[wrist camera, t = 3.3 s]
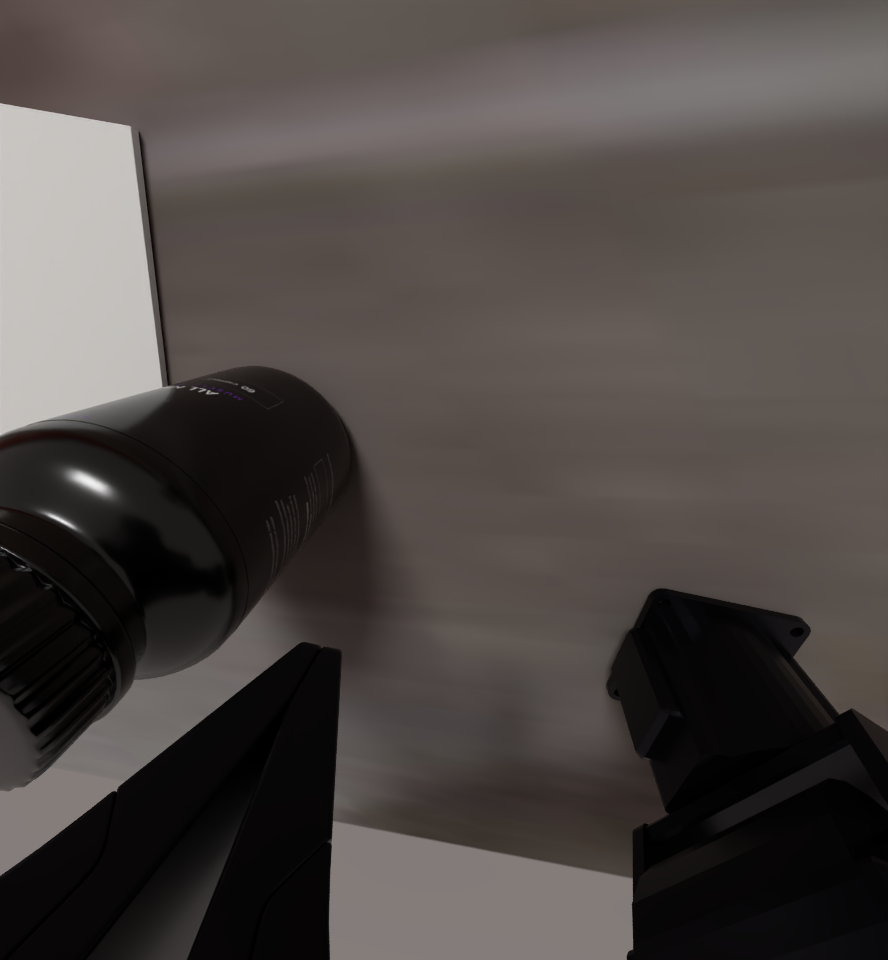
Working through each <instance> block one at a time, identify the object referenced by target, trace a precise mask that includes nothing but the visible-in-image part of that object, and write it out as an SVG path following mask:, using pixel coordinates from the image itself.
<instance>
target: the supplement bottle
mask: <svg viewBox="0 0 888 960" xmlns="http://www.w3.org/2000/svg"><path fill="white" fill-rule="evenodd" d="M350 470H351V451H350V445H349V441H348V437H347V434H346V432H345V429H344V427H343V425H342V423H341V421H340V419H339V417H338V415H337V414H336V412H335V411H334V409H333V408H332V407H331V405H330V404H329V403H328V402H327V401H326V400H325V398H324V397H323V396H322V395H321V394H320V393H318V392H317V391H316V390H315V389H314V388H313V387H311V386H310V385H308V384H307V383H306V382H304V381H302V380H301V379H299V378H297V377H295V376H293V375H291V374H289V373H286V372H284V371H281V370H277V369H273V368H268V367H262V366H246V367H238V368H233V369H229V370H225V371H221V372H217V373H213V374H210V375H206V376H202V377H199V378H195V379H191V380H188V381H184V382H181V383H177V384H173V385H170V386H166V387H162V388H159V389H155V390H152V391H148V392H144V393H141V394H137V395H133V396H130V397H126V398H123V399H119V400H115V401H112V402H108V403H104V404H101V405H97V406H94V407H90V408H86V409H83V410H79V411H76V412H72V413H68V414H65V415H61V416H57V417H54V418H50V419H47V420H43V421H39V422H36V423H32V424H29V425H27V426H24V427H20V428H17V429H14V430H11V431H9V432H6V433H4V434H2V435H0V790H2V791H11V790H12V789H13V788H16V787H25V786H26V785H28V784H29V783H30V782H32V781H33V780H34V779H36V778H37V777H39V776H40V775H41V774H43V773H44V772H45V771H46V770H47V769H48V768H49V767H50V766H51V765H52V764H53V763H54V762H55V761H56V760H57V759H58V758H59V757H60V756H61V755H62V754H63V753H64V752H65V751H66V750H67V749H68V748H69V747H70V746H71V745H72V744H73V743H74V742H75V741H76V740H77V739H78V738H79V737H80V735H81V734H82V733H83V732H84V731H85V730H86V729H87V728H88V727H89V726H90V725H91V724H92V723H94V722H96V721H98V720H100V719H102V718H103V717H104V716H106V715H107V714H108V713H109V712H110V711H111V710H112V709H113V708H114V707H115V706H116V704H117V703H118V702H119V701H120V700H121V699H122V698H123V697H124V695H125V694H126V693H127V692H128V690H129V689H130V687H131V685H132V683H133V681H134V680H142V679H151V678H157V677H162V676H166V675H169V674H173V673H176V672H179V671H181V670H184V669H186V668H188V667H191V666H193V665H195V664H197V663H198V662H200V661H202V660H204V659H205V658H207V657H208V656H210V655H211V654H212V653H214V652H215V651H216V650H217V649H219V648H220V646H221V645H222V644H223V643H224V642H225V641H226V640H227V639H228V638H229V637H230V636H231V635H232V634H233V632H234V631H235V630H236V629H237V628H238V627H239V625H240V624H241V623H242V622H243V620H244V619H245V618H246V617H247V615H248V614H249V613H250V612H251V610H252V609H253V608H254V607H255V605H256V604H257V603H258V602H259V601H260V599H261V598H262V597H263V596H264V594H265V593H266V592H267V591H268V589H269V588H270V587H271V586H272V584H273V583H274V582H275V581H276V579H277V578H278V577H279V576H280V574H281V573H282V572H283V571H284V569H285V568H286V567H287V566H288V564H289V563H290V562H291V561H292V559H293V558H294V557H295V556H296V554H297V553H298V552H299V551H300V549H301V548H302V547H303V546H304V545H305V543H306V542H307V541H308V540H309V538H310V537H311V536H312V535H313V533H314V532H315V531H316V530H317V528H318V527H319V526H320V525H321V523H322V522H323V521H324V520H325V518H326V517H327V516H328V515H329V513H330V512H331V511H332V509H333V508H334V507H335V505H336V504H337V503H338V501H339V500H340V498H341V497H342V495H343V493H344V491H345V489H346V486H347V484H348V480H349V477H350Z"/></svg>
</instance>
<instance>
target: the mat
mask: <svg viewBox="0 0 888 960" xmlns="http://www.w3.org/2000/svg"><path fill="white" fill-rule="evenodd" d="M166 386H168V382H167V373H166V365H165V356H164V348H163V339H162V331H161V322H160V313H159V305H158V296H157V288H156V279H155V271H154V262H153V254H152V245H151V236H150V228H149V219H148V211H147V202H146V194H145V185H144V176H143V168H142V159H141V151H140V142H139V134H138V129H135V128H133V127H131V126H126V125H120V124H114V123H109V122H103V121H97V120H92V119H86V118H80V117H74V116H69V115H63V114H57V113H52V112H46V111H40V110H34V109H29V108H23V107H17V106H11V105H6V104H0V435H2V434H4V433H6V432H9V431H11V430H14V429H17V428H20V427H24V426H27V425H29V424H32V423H36V422H39V421H43V420H47V419H50V418H54V417H57V416H61V415H65V414H68V413H72V412H76V411H79V410H83V409H86V408H90V407H94V406H97V405H101V404H104V403H108V402H112V401H115V400H119V399H123V398H126V397H130V396H133V395H137V394H141V393H144V392H148V391H152V390H155V389H159V388H162V387H166Z"/></svg>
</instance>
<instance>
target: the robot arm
mask: <svg viewBox="0 0 888 960" xmlns="http://www.w3.org/2000/svg"><path fill="white" fill-rule="evenodd" d="M663 599H667V600H666V601H664V602H659V601H660V600H663ZM794 628H795V629H794ZM810 632H811V630H810V627H809V626H808V625H807V624H806V623H805V622H804V621H803V619H802V618H800V617H797V616H793V615H788V614H783V613H779V612H774V611H769V610H764V609H760V608H755V607H750V606H745V605H741V604H736V603H731V602H726V601H722V600H717V599H712V598H707V597H703V596H698V595H693V594H688V593H684V592H679V591H674V590H669V589H661V588H660V589H656V590H654V591H653V592H652V593H651V594H650V595H649V597H648V599H647V601H646V603H645V605H644V607H643V609H642V612H641V614H640V616H639V618H638V620H637V622H636V624H635V626H634V627H633V628H632V629H631V630H630V631H629V632H628V634H627V636H626V638H625V641H624V643H623V645H622V647H621V649H620V651H619V653H618V655H617V657H616V659H615V661H614V664H613V666H612V668H611V670H612V674H611V676H610V678H609V680H608V682H607V690H608V693H609V696H610V697H611V698H613V699H615V700H620V701H621V704H622V707H623V711H624V714H625V717H626V721H627V724H628V727H629V731H630V734H631V737H632V741H633V744H634V747H635V750H636V752H637V753H638V755H639V756H640V758H642V759H646V760H649V762H650V765H651V768H652V771H653V774H654V777H655V780H656V783H657V786H658V789H659V793H660V796H661V799H662V802H663V805H664V808H665V811H666V812H667V813H669V814H668V815H666V816H664V817H663V818H661V819H659V820H657V821H655V822H653V823H652V824H650V825H648V824H643V825H641V826H639V827H638V828H636V829H634V830H633V902H632V916H633V950H631V951H629V952H628V954H627V960H888V731H886V730H885V729H883V728H882V727H880V726H879V725H877V724H875V723H874V722H872V721H871V720H869V719H868V718H866V717H865V716H863V715H862V714H860V713H859V712H857V711H856V710H854V709H852V708H851V709H849V710H848V711H846V712H844V713H842V714H840V715H839V714H838V712H837V711H836V710H835V709H834V707H833V706H832V705H831V704H830V702H829V701H828V700H827V699H826V697H825V696H824V695H823V694H822V693H821V691H820V690H819V689H818V688H817V686H816V685H815V684H814V683H813V681H812V680H811V679H810V678H809V677H808V675H807V674H806V673H805V672H804V670H803V669H802V668H801V667H800V665H799V664H798V663H797V662H796V660H795V659H794V658H793V656H794V655H795V654H796V652H797V651H798V650H799V648H800V647H801V645H802V644H803V643H804V641H805V640H806V639H807V637H808V636H809V634H810ZM341 663H342V652H341V650H338V649H334V648H329V647H323V648H321V646H319V645H316V644H311V643H307V642H302V643H300V644H298V645H297V646H296V647H294V648H293V649H292V650H290V651H289V652H288V653H287V654H285V655H284V656H283V657H282V658H280V659H279V660H278V661H277V662H275V663H274V664H273V665H272V666H270V667H269V668H268V669H267V670H265V671H264V672H263V673H261V674H260V675H259V676H258V677H256V678H255V679H254V680H253V681H251V682H250V683H249V684H248V685H246V686H245V687H244V688H243V689H241V690H240V691H239V692H238V693H236V694H235V695H234V696H232V697H231V698H230V699H229V700H227V701H226V702H225V703H224V704H222V705H221V706H220V707H219V708H217V709H216V710H215V711H214V712H212V713H211V714H210V715H209V716H207V717H206V718H205V719H204V720H202V721H201V722H200V723H198V724H197V725H196V726H195V727H193V728H192V729H191V730H190V731H188V732H187V733H186V734H185V735H183V736H182V737H181V738H180V739H178V740H177V741H176V742H175V743H173V744H172V745H171V746H169V747H168V748H167V749H166V750H164V751H163V752H162V753H161V754H159V755H158V756H157V757H156V758H154V759H153V760H152V761H151V762H149V763H148V764H147V765H146V766H144V767H143V768H142V769H140V770H139V771H138V772H137V773H135V774H134V775H133V776H132V777H130V778H129V779H128V780H127V781H125V782H124V783H123V784H122V785H120V786H119V787H118V789H117V792H116V791H113V792H111V793H110V794H109V795H107V796H106V797H105V798H104V799H102V800H101V801H100V802H99V803H97V804H96V805H95V806H94V807H92V808H91V809H90V810H88V811H87V812H86V813H85V814H83V815H82V816H81V817H79V818H78V819H77V820H76V821H74V822H73V823H72V824H70V825H69V826H68V827H66V828H65V829H64V830H62V831H61V832H60V833H59V834H57V835H56V836H55V837H54V838H52V839H51V840H49V841H48V842H47V843H45V844H44V845H43V846H42V847H40V848H39V849H37V850H36V851H35V852H33V853H32V854H30V855H29V856H28V857H26V858H25V859H23V860H22V861H21V862H19V863H18V864H16V865H15V866H14V867H12V868H11V869H9V870H8V871H7V872H5V873H4V874H2V875H1V876H0V960H330V949H329V948H330V944H329V898H330V895H329V894H330V867H331V849H332V845H331V841H332V827H333V825H332V824H333V808H334V790H335V772H336V754H337V736H338V718H339V699H340V681H341Z"/></svg>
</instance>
